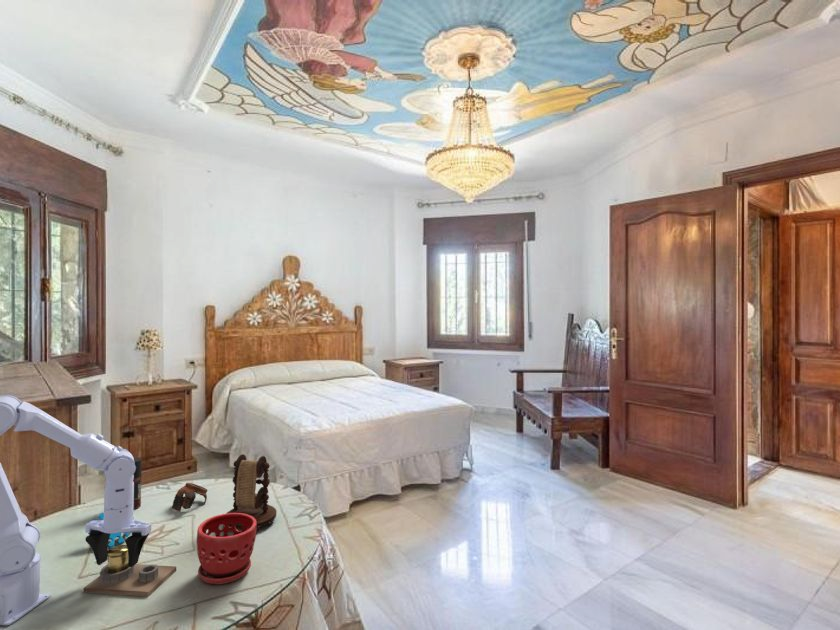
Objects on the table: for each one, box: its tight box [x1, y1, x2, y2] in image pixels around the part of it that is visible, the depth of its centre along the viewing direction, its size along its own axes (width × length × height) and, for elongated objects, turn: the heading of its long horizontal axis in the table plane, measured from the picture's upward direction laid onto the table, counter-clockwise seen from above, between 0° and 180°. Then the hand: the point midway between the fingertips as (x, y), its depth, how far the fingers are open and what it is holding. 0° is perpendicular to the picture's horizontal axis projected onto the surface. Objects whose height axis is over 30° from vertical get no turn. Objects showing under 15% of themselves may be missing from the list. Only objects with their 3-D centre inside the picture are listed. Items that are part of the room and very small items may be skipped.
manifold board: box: [83, 563, 177, 597], centre depth 103 cm, size 10×15×3 cm, turn 86°
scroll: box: [225, 453, 277, 533], centre depth 133 cm, size 15×15×20 cm
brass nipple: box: [107, 544, 128, 574], centre depth 104 cm, size 4×4×6 cm
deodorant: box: [133, 456, 143, 511], centre depth 142 cm, size 6×6×15 cm
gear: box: [87, 512, 132, 549], centre depth 122 cm, size 11×6×10 cm
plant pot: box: [196, 512, 257, 585], centre depth 107 cm, size 13×13×12 cm
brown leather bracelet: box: [171, 482, 209, 512], centre depth 144 cm, size 12×10×8 cm
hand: (117, 563), depth 104 cm, fingers open, 7 cm apart
